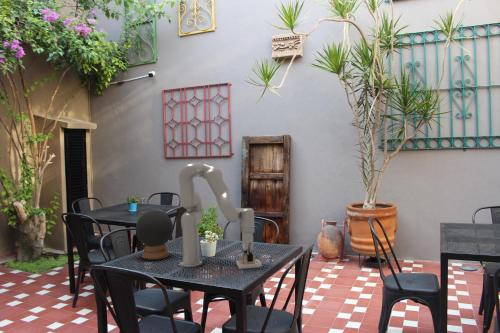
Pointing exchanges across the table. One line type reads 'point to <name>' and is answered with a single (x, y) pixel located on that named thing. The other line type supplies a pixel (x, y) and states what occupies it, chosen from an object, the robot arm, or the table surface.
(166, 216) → the decorative object
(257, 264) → the dish
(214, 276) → the table surface
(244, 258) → the oak cube
